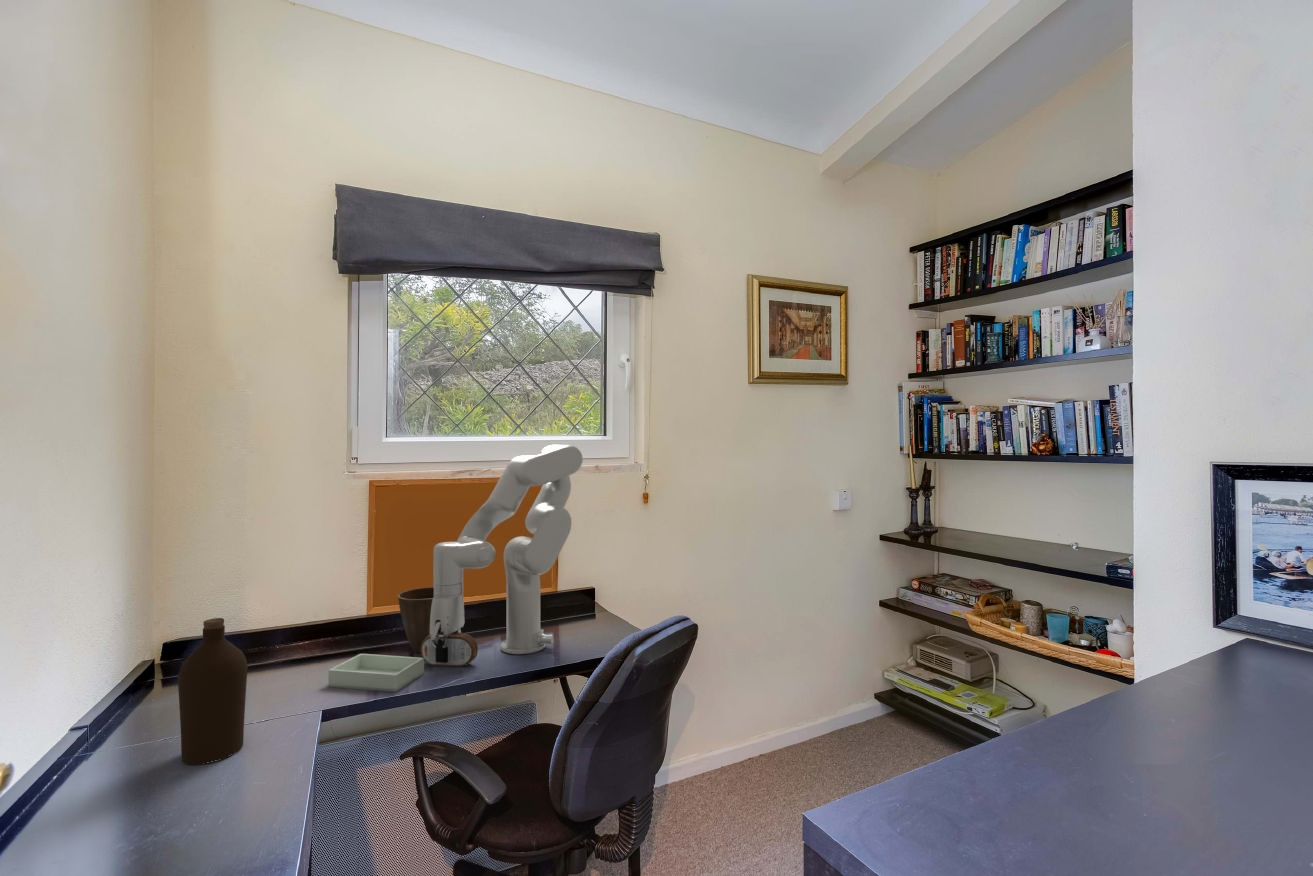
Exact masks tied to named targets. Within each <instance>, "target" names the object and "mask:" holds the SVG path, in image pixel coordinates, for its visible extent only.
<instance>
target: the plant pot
mask: <svg viewBox="0 0 1313 876" xmlns="http://www.w3.org/2000/svg"><path fill="white" fill-rule="evenodd" d="M433 590H434V586H432V587H431V586H430V587H421V588H419V587H418V588H414V589H409V590H405V591H403V592H401V593H399V594H397V599H398V607H399V612H400V616H401V621H402V624H403V628H404V631H405V634H406V635H405V636H406V638H407V640H408V642H409V645H410V648H411V650H412V652H414V653H416V654H421V653H420V647H421V643H422V642H423V640H424V639H425V638H426V637H427V636H428V635H430V615H431V606H432V600H433V598H434V596H433Z"/></svg>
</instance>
